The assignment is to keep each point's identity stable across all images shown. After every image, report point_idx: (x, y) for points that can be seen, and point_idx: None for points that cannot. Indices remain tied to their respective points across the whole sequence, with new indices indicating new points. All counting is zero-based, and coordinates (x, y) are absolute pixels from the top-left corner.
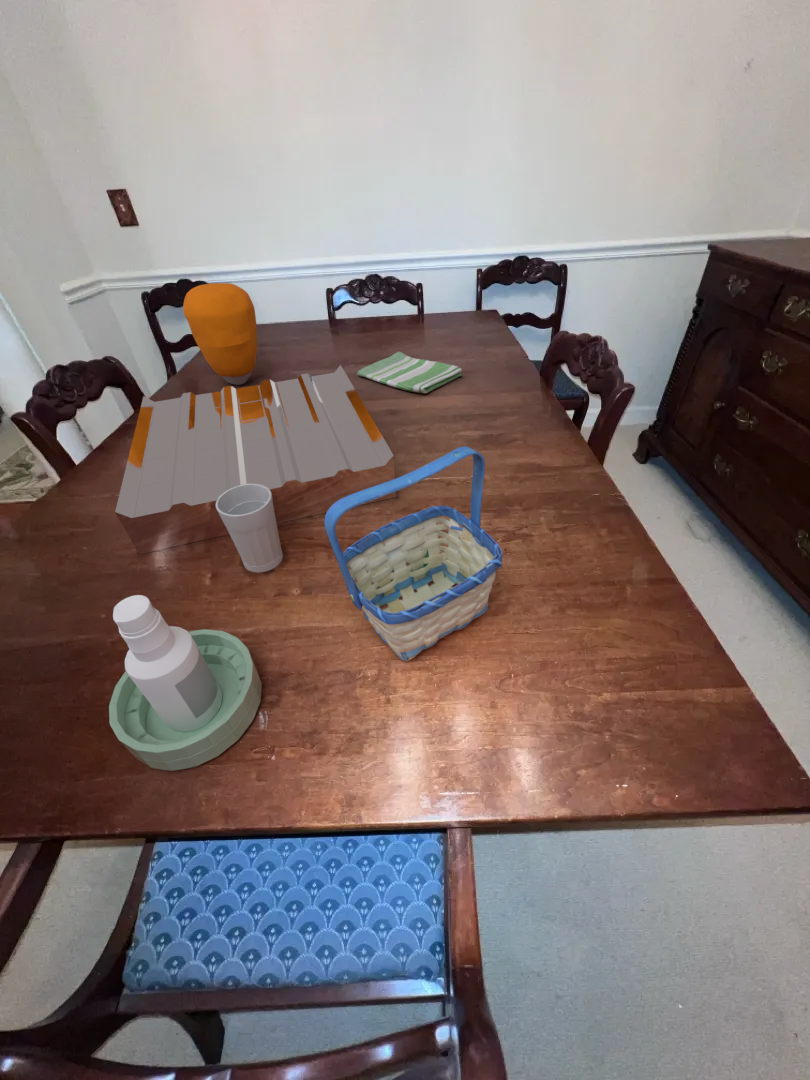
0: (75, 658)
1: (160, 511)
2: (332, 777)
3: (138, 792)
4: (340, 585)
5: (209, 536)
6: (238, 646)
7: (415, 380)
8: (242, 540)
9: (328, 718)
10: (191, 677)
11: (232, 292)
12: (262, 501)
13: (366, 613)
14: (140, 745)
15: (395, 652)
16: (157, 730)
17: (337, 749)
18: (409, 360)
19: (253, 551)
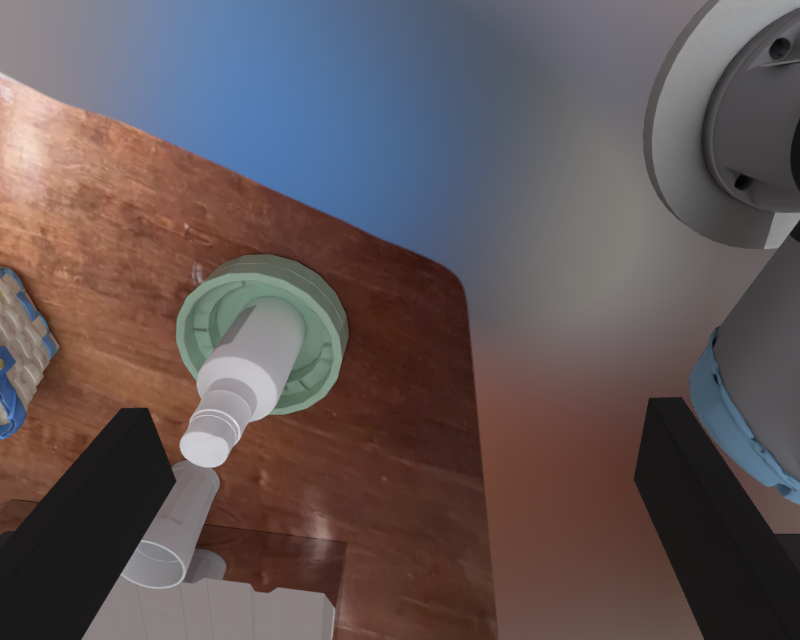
0: (411, 438)
1: (288, 589)
2: (117, 172)
3: (335, 255)
4: (96, 403)
5: (260, 534)
6: (194, 368)
7: None
8: (181, 508)
9: (119, 242)
10: (217, 345)
11: None
12: (143, 554)
13: (25, 344)
14: (302, 296)
15: (16, 283)
16: (313, 314)
17: (110, 201)
18: None
19: (181, 489)
